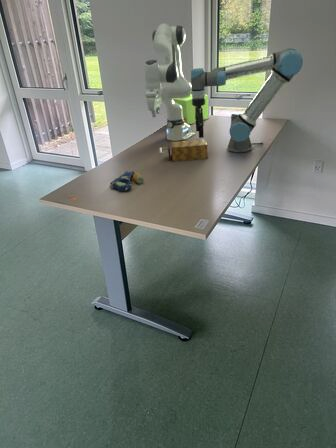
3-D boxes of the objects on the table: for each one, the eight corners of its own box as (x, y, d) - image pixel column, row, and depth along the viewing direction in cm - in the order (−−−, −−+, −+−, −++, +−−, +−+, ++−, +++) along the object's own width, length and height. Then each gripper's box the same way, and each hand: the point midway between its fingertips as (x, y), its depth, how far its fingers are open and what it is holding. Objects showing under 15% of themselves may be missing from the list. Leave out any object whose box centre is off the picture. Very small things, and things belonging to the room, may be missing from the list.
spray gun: (149, 177, 188) (127, 175, 194) (148, 170, 185) (126, 168, 192) (130, 194, 172) (106, 191, 179) (129, 187, 170) (105, 183, 176)
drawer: (160, 160, 208) (159, 150, 204) (160, 155, 216) (159, 145, 213) (201, 156, 207) (201, 146, 204) (199, 151, 216) (199, 141, 212)
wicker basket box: (172, 161, 208) (171, 147, 203) (171, 155, 217) (170, 142, 213) (207, 158, 207) (207, 144, 203) (205, 152, 217) (205, 139, 212)
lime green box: (191, 115, 302) (190, 88, 290) (208, 118, 288) (208, 90, 276) (170, 121, 289) (168, 93, 277) (187, 125, 275) (185, 95, 263)
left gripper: (152, 88, 205) (155, 111, 212) (144, 94, 187) (147, 119, 194) (162, 87, 203) (164, 111, 210) (155, 93, 186) (157, 119, 193)
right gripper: (189, 94, 204) (191, 129, 215) (194, 102, 182) (196, 141, 193) (201, 93, 204) (203, 128, 215) (208, 101, 182) (209, 139, 193)
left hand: (156, 115), depth 202 cm, fingers open, 8 cm apart
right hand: (199, 134), depth 204 cm, fingers open, 13 cm apart
